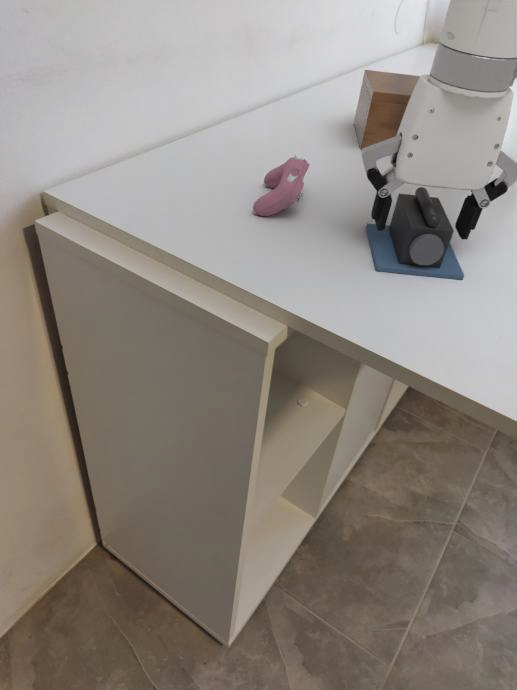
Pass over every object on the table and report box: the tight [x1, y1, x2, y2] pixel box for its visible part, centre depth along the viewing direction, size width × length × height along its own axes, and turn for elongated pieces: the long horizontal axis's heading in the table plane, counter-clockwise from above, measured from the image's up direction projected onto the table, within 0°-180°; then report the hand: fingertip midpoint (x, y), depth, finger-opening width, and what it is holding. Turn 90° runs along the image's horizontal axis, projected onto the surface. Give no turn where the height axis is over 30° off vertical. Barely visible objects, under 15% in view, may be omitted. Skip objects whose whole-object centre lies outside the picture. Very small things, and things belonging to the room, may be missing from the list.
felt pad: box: [365, 222, 465, 281], centre depth 64 cm, size 10×10×1 cm
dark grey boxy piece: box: [389, 186, 455, 268], centre depth 62 cm, size 5×10×6 cm, turn 178°
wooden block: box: [353, 69, 421, 150], centre depth 89 cm, size 12×12×9 cm
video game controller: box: [252, 154, 310, 217], centre depth 69 cm, size 10×5×7 cm, turn 170°
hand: (419, 229), depth 62 cm, fingers open, 9 cm apart
